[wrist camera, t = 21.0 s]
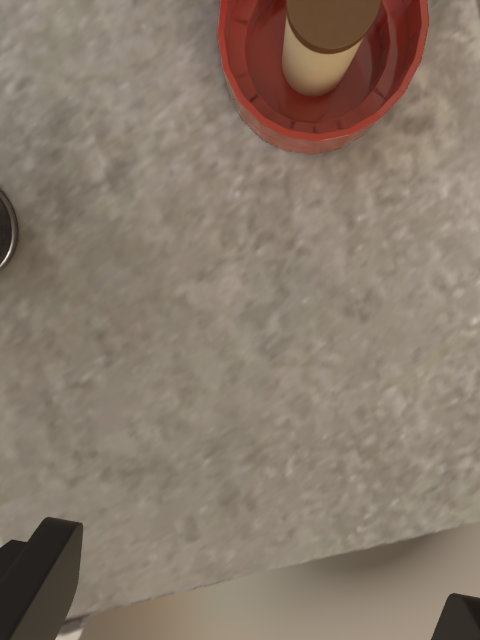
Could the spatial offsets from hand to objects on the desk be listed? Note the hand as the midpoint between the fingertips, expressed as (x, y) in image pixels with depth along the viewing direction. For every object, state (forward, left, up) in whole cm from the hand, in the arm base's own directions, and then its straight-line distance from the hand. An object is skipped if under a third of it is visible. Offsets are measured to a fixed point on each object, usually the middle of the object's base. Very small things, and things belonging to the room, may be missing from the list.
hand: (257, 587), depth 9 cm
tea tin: (-6, +20, -29) cm, 36 cm away
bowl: (-6, +20, -29) cm, 36 cm away
